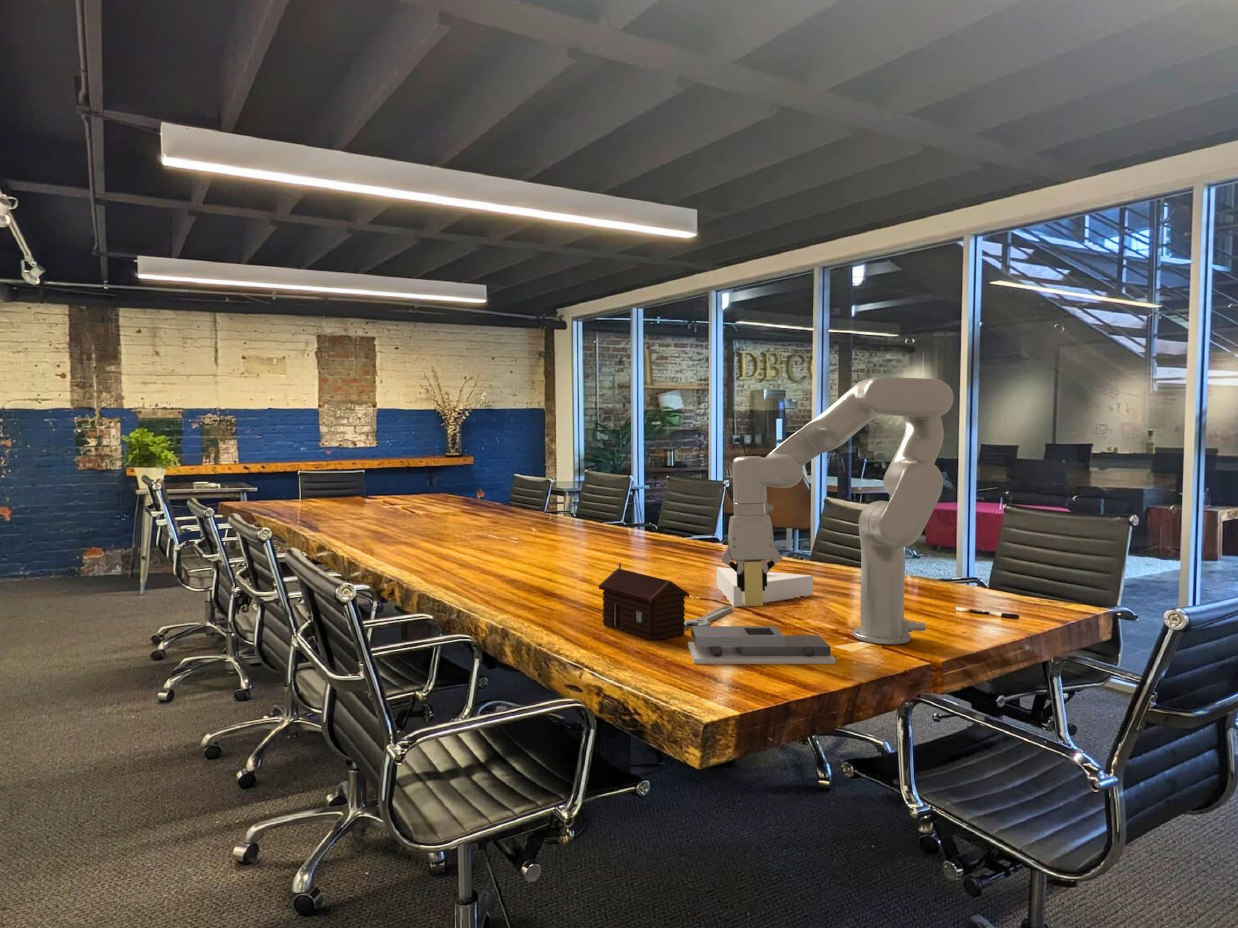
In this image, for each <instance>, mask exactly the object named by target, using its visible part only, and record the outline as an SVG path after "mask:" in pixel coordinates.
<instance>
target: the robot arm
mask: <svg viewBox="0 0 1238 928" xmlns="http://www.w3.org/2000/svg"><path fill="white" fill-rule="evenodd" d="M953 392H954V391H953V390H952V388H951V387H950V385H949V384H948V383H946V382H945V381H943V380H940V379H938V378H924V377H922V378H921V377H919V378H918V377H901V376H900V377H898V376H883V375H882V376H874V377H870V378H866V379H862V380H860V381H859V382H857V383H856V384H855V385H852V387H851V388H850V389H849V390H847V391H846V392H845V393H844V394H842V395H840V397H839V398H838V399H837V400H835V401H834V402H833V403H832V404H831V405H830V406H829V407H827V408H826V409H825V410H824V411H823V412H821V413H820V414H819V415H817V416H816V417H815V418H813V419H812V420H810V421H808V423H806V424H805V425H804V426H803V427H802V428H800V429H798V430H797V431H796V432H795V433H793V434H792V435H790V436H789V437H788V438H787V439H785V440H784V441H783V442H781V443H780V444H779V445H778V446H777V447H776V448H774V449H773V450H772V451H771V452H769V454H767V455H766V456H765V457H762V456H759V455H758V456H757V455H755V456H754V455H747V456H746V455H745V456H737V457H735V458H734V459H733V461H732V487H733V488H732V491H733V492H732V497H733V498H732V499H733V515H731V516H730V517H729V521H728V534H727V548H726V550H725V551H724V552H723V554H722V556H721V557H720V561H721V562H722V563H724V564H725V565H727V566H728V567H729V568H732V569H733V570H734V571H736V572H737V587H740V590H741V591H742V592H744V574H743V571H742V570H743V564H744V561H751V560H760V561H762V587H763V591H765V587H766V586H767V573H768V572H770V571H771V569H772V568H773V567H774V566H775V565H776V564H778V563H779V562H781V561H782V560H783V557H782V555H781V554H780V552H779V551H778V549H777V547H775V541H774V532H773V531H774V530H773V525H772V520H771V516H770V515H768V514H769V512H771V511H774V504H769V503H768V496H767V494H768V491H767V488H768V487H771V488H782V489H789V488H792V487H794V486H797V485H798V484H799V483H800V482H801V481H802V478H803V476H804V466H805V465H806V464H808V463H809V462H810V461H811V460H814V459H815V458H816V457H818V456H820V455H822V454H825V453H827V452H830V451H833V450H835V449H837V448H839V447H840V446H842V445H845V443H846V442H848V441H849V440H850V439H851V438H852V437H853V436H855V434H856V433H858V432H859V431H860V430H861V429H862V428H864V427H865V426H866V425H868V424H869V423H870V422H871V421H872V420H873V419H875V418H876V417H877V416H881V415H882V416H883V415H884V416H893V417H894V416H896V417H902V420H903V422H904V433H903V437H902V439H901V441H900V444H899V446H898V448H897V450H896V452H895V454H894V456H893V458H892V460H891V461H890V463H889V466H888V468H887V470H886V472H885V474H884V477H883V480H882V481H883V486H884V490H885V491H886V492H887V494H888V495H889V496H891V497H890V499H889V501H887V500H877V501H873V502H870V503H868V504H867V505H866V506H865V507H864V508H863V509H862V511H861V512H860V514H859V519H858V532H859V533H858V534H859V542H860V550H861V551H860V554H861V555H860V556H861V559H860V562H861V563H860V564H861V565H860V566H861V567H860V568H861V569H860V623H859V624H860V627H856V628H854V629H853V633H852V634H853V637H854V638H855V639H858V640H860V641H863V642H867V643H873V644H880V645H901V644H907V643H909V642H910V641H911V640H912V635H911V633H912V631H916V632H925V631H926V623H925V622H916V620H910V621H909V620H907V619H906V618H905V574H906V573H905V572H906V559H905V550H904V549H905V548H907V547H910V546H912V545H914V543H915V542H916V541H918V539H919V538H920V536H921V534H922V533H923V531H924V530H925V528H926V526H927V524H928V522H929V520H930V518H931V516H932V514H933V512H934V510H935V508H936V506H937V504H938V502H939V500H940V497H941V496H942V492H943V487H944V477H943V475H942V472H941V470H940V468H939V467H938V466H937V465H936V460H937V459H938V456H939V454H940V453H941V448H942V446H943V443H944V439H945V438H944V435H945V432H944V425H943V421H942V418H941V417H942V416H944V415H945V414H947V413H948V412H949V411H950V410H951V408H952V406H953V403H954V400H955V398H954V397H955V396H954V393H953ZM731 559H732V560H731ZM733 560H734V561H735V562H734V561H733Z"/></svg>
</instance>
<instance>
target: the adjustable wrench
mask: <svg viewBox="0 0 1238 928" xmlns="http://www.w3.org/2000/svg"><path fill="white" fill-rule="evenodd" d="M731 611H732V612H733V606H732V605H731V606H729V605H723V606H721V607H719V608H717V609H715V610H713V611H711V612H709V613H707V614H705V615H703V616H701V617H697V618H694V619H693V618H692V619H687V620H685V622H684V625H685V628H684V631H687V628H691V626H712V624H711V622H713V621H715V620H717V619H720V618H722V617H723V616H726V615H727V614H730V613H732V612H731Z"/></svg>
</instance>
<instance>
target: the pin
mask: <svg viewBox="0 0 1238 928" xmlns="http://www.w3.org/2000/svg"><path fill="white" fill-rule="evenodd" d="M742 571H743V574H744V592H742V603H743V604H744V607H758V606H764V603H763V587H762V561H760V560H751V561H744V564H743V570H742Z"/></svg>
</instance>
